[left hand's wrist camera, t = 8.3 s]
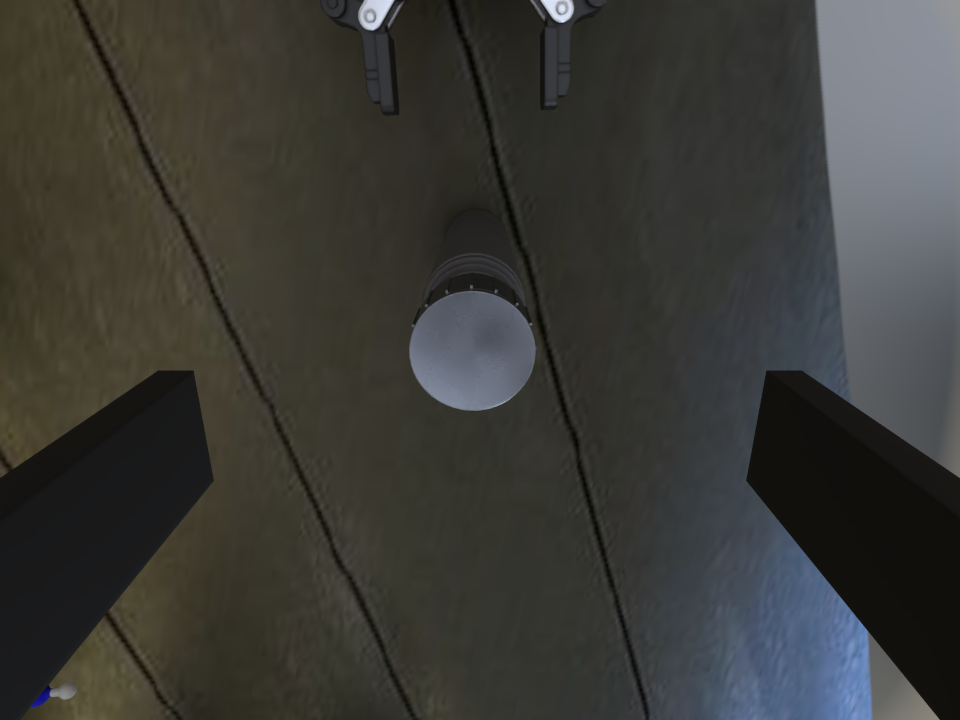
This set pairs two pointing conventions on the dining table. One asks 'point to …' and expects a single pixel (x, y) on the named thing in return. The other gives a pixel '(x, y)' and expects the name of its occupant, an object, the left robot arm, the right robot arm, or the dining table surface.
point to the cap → (472, 342)
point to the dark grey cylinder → (476, 252)
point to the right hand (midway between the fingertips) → (470, 111)
